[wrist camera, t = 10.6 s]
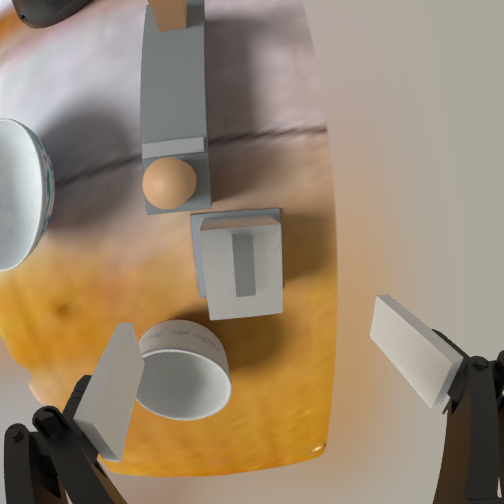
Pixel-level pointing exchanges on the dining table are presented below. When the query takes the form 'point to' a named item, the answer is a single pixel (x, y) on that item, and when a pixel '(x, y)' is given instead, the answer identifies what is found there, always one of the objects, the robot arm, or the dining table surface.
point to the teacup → (183, 371)
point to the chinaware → (23, 192)
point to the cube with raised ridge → (242, 266)
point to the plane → (174, 108)
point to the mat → (196, 225)
